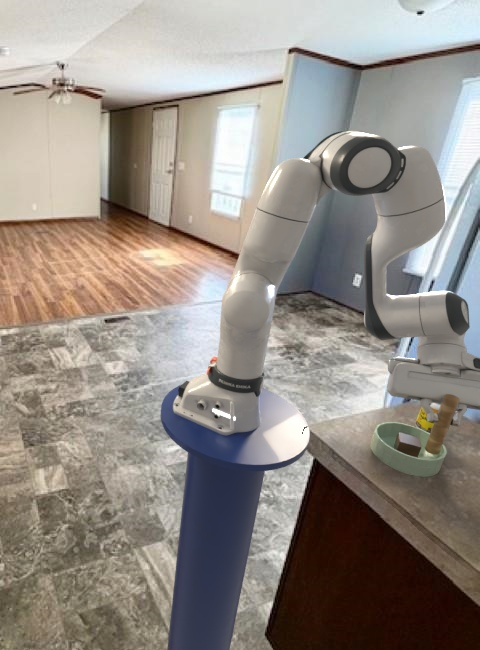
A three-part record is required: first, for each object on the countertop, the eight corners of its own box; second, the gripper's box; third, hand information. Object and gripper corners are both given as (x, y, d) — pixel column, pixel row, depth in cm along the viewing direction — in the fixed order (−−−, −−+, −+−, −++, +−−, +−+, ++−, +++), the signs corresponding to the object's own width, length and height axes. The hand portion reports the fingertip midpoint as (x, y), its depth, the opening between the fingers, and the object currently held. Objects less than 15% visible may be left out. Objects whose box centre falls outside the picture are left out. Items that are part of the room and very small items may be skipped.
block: (394, 455, 96) (399, 441, 95) (393, 445, 99) (398, 431, 98) (416, 461, 94) (421, 447, 93) (414, 451, 97) (419, 437, 96)
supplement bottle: (409, 424, 107) (422, 390, 103) (425, 421, 109) (438, 387, 105) (430, 438, 103) (445, 403, 99) (447, 434, 104) (462, 399, 100)
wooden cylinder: (425, 452, 93) (445, 398, 88) (424, 445, 95) (443, 392, 90) (439, 456, 92) (461, 402, 87) (438, 449, 94) (458, 396, 89)
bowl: (370, 463, 95) (376, 447, 93) (369, 430, 105) (374, 415, 104) (444, 485, 89) (451, 468, 87) (435, 448, 99) (441, 433, 98)
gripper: (393, 351, 95) (393, 410, 91) (505, 365, 89) (512, 431, 84) (383, 359, 101) (382, 416, 96) (488, 374, 94) (493, 435, 90)
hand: (444, 423), depth 90 cm, fingers closed on wooden cylinder, 2 cm apart
